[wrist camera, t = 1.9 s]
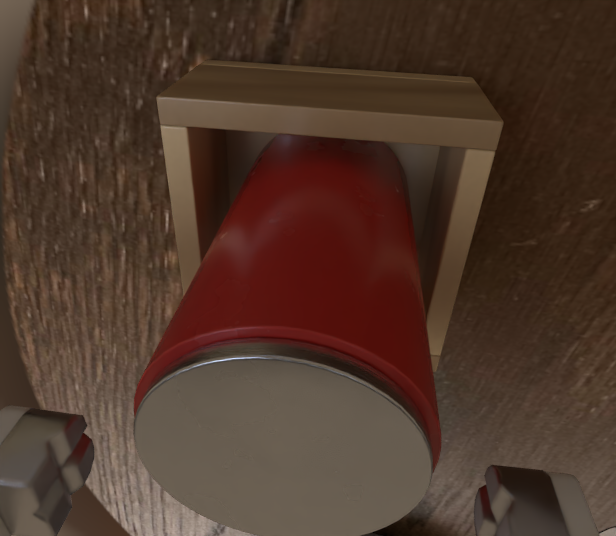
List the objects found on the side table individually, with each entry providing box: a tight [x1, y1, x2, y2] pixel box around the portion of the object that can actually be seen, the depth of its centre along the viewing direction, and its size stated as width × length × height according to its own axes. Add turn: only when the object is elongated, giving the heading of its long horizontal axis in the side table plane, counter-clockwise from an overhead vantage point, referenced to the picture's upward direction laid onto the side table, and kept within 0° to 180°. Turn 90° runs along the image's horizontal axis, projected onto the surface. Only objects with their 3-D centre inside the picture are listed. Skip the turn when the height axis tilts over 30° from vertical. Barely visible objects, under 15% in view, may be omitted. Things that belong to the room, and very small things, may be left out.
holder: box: [157, 60, 504, 372], centre depth 17 cm, size 9×9×5 cm
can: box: [134, 134, 441, 536], centre depth 14 cm, size 6×6×12 cm
